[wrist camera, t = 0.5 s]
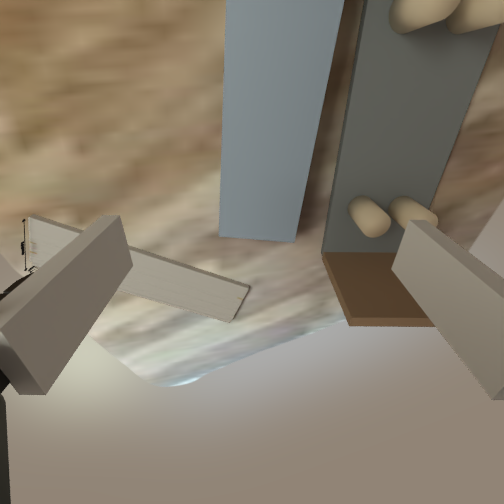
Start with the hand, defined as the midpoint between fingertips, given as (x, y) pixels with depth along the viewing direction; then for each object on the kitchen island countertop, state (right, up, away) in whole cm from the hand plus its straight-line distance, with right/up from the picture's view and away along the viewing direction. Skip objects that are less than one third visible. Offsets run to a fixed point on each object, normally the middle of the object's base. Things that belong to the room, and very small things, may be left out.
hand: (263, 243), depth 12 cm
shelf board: (+1, +14, +16) cm, 21 cm away
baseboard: (-17, -4, +28) cm, 33 cm away
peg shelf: (+15, +13, +16) cm, 26 cm away
